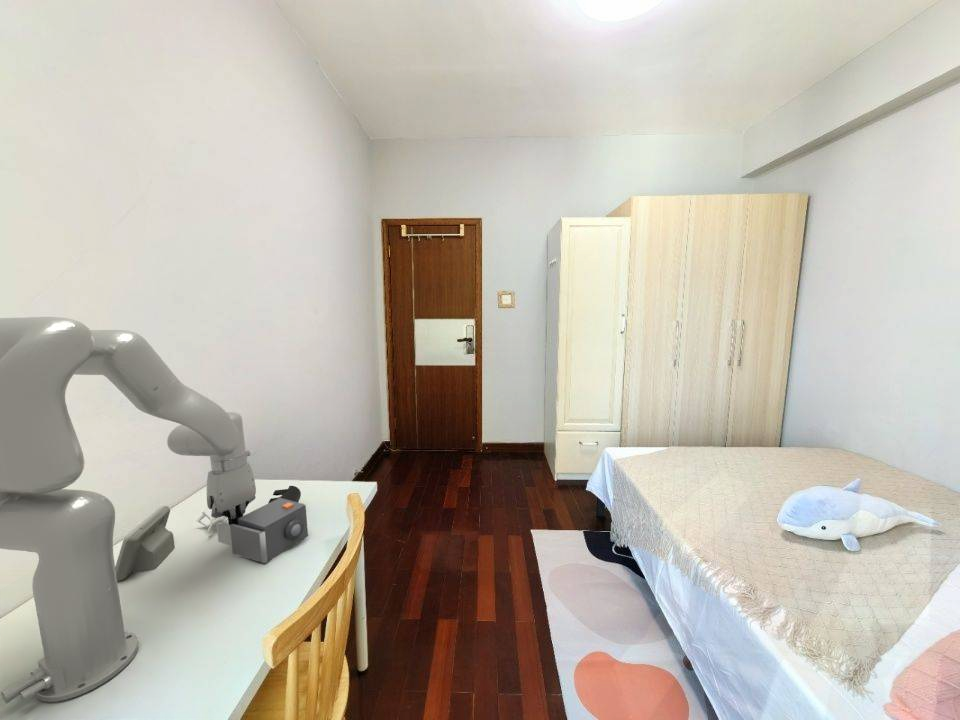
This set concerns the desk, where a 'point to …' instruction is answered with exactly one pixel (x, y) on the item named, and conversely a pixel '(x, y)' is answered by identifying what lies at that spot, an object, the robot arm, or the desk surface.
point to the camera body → (278, 524)
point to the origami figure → (208, 515)
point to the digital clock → (145, 545)
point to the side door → (243, 541)
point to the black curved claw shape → (288, 494)
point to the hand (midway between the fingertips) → (237, 529)
